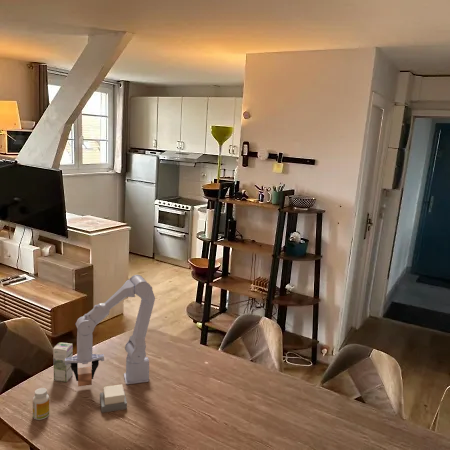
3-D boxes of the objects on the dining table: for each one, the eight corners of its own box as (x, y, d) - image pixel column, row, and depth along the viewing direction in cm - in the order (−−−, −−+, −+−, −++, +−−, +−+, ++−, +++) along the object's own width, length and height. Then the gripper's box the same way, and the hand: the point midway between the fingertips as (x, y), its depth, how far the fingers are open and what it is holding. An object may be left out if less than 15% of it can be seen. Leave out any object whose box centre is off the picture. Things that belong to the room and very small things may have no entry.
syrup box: (73, 374, 175) (73, 342, 173) (66, 382, 170) (66, 349, 167) (60, 373, 176) (59, 341, 173) (53, 381, 170) (52, 348, 167)
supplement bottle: (52, 413, 151) (52, 388, 149) (41, 422, 146) (41, 397, 144) (40, 409, 153) (40, 385, 151) (29, 417, 148) (28, 393, 146)
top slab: (122, 391, 163) (122, 384, 162) (124, 402, 156) (124, 394, 156) (103, 393, 160) (103, 386, 160) (104, 404, 154) (105, 397, 153)
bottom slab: (123, 396, 165) (123, 389, 164) (126, 410, 156) (126, 403, 156) (99, 399, 161) (99, 392, 161) (101, 414, 153) (101, 406, 153)
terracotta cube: (91, 377, 169) (91, 366, 168) (91, 384, 164) (91, 373, 163) (77, 379, 167) (77, 368, 166) (78, 386, 163) (78, 374, 162)
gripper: (64, 354, 157) (64, 386, 159) (104, 349, 162) (104, 381, 164) (64, 345, 163) (65, 376, 166) (103, 341, 168) (103, 372, 171)
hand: (84, 378), depth 166 cm, fingers closed on terracotta cube, 5 cm apart
